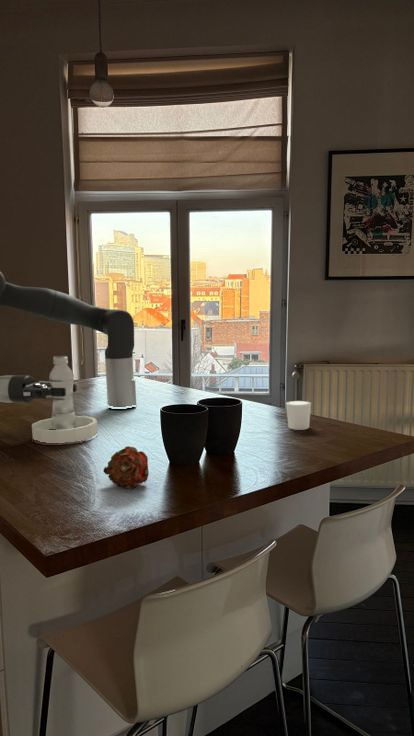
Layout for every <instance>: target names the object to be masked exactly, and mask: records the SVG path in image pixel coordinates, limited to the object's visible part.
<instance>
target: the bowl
mask: <svg viewBox="0 0 414 736" xmlns="http://www.w3.org/2000/svg"><path fill="white" fill-rule="evenodd" d="M51 420H52V417H51V418H46V419H41V420H38V421H36V422H34V423H32V424H31V431H32V435H31V436H32V440H33V439H34V440H38V441H40V442H46V443H65V442H75V441H81V440H85V439H88V438H92V437H93V436H95V435H96V434H97V433H98V434H99V432H98V431H99V427H98V420H97V419H96V418H95V417H92V416H91V417H90V416H85V415H76V425H75V426H74V428H72V429H62V430H49V429H54V428H53V426H52V422H51Z"/></svg>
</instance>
